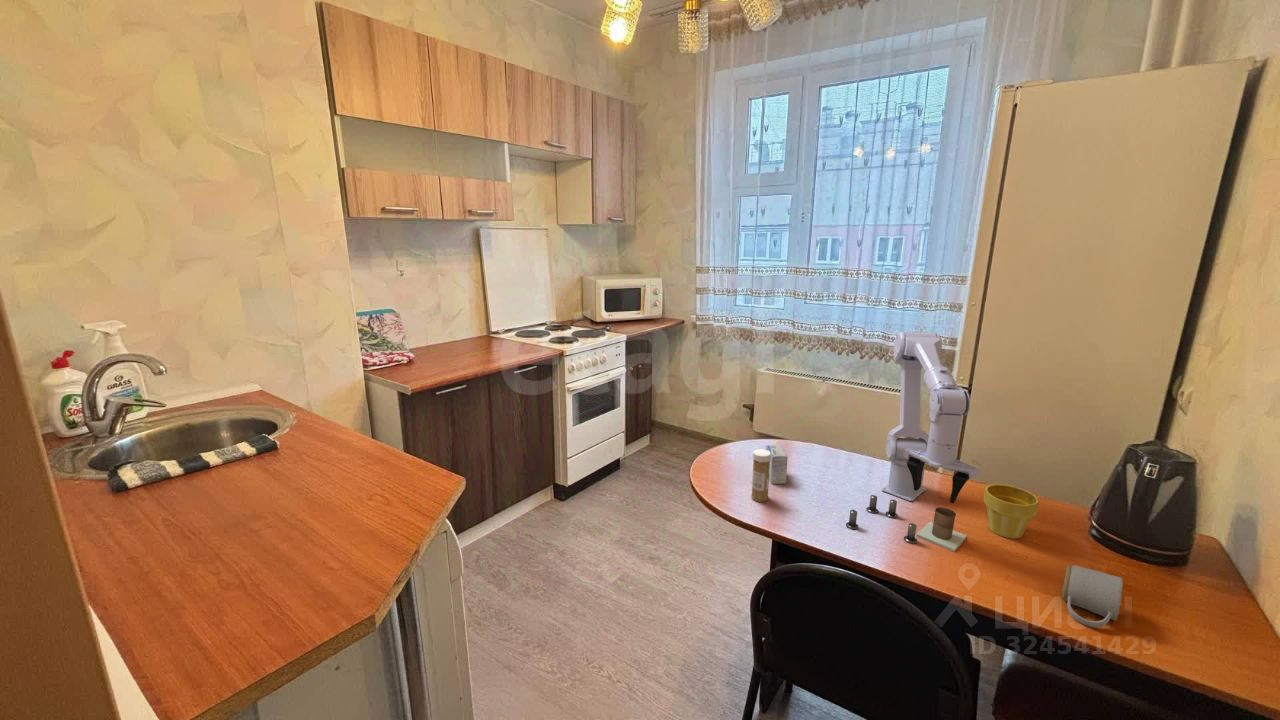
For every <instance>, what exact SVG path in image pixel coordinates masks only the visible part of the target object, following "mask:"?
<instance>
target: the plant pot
mask: <svg viewBox="0 0 1280 720" xmlns="http://www.w3.org/2000/svg"><path fill="white" fill-rule="evenodd" d="M983 503H984V505H986V513H987V524H988V525H987V527H988V528H989V530H990V531H991V532H993V533H994V534H996V535H998V536H1000V537H1003V538H1005V539H1006V538H1008V539H1014V540H1015V539H1020V538H1022V537H1023V535H1024V533H1025V531H1026V529H1027V528H1028V525H1029V524H1030V522H1031V519H1032V518H1034V517H1035V516H1036V515H1037V512H1038V509H1039V503H1040V501H1039V498H1038V497H1037V496H1036V495H1034V493H1032V492H1030V491H1028V490H1026V489H1024V488H1021V487H1019V486H1013V485H1009V484H1002V483H993V484H992V483H991V484H988V485H987V486H986V487H985V489H984V493H983Z"/></svg>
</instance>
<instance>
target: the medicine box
mask: <svg viewBox="0 0 1280 720" xmlns="http://www.w3.org/2000/svg"><path fill="white" fill-rule="evenodd" d="M765 450H767V451H769V452H770V453H771V460H770V468H769V483H770V484H771V485H774V484H775V485H776V484H777V485H784V484H785V485H786V484H787V474H788V458H789V457H788V455H787V453H786V452H785V450H784V448H783V447H782V445H781V444H768V445H766V447H765Z"/></svg>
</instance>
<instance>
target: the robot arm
mask: <svg viewBox="0 0 1280 720" xmlns="http://www.w3.org/2000/svg"><path fill="white" fill-rule="evenodd" d="M942 347H943V340H942V337H941V335H940V333H938V332H911V331H909V332H907V331H905V332H904V331H899V332H898V333H897V334H896V335H895V339H894V346H893V358H894V363H897V364H898V365H900V391H899V392H900V395H899V396H900V397H899V424H898V425H897V426H896V427H894V428H892V429H891V430H889V432H888V434H887V438H886V443H885V452H886V453H885V454H886V456H887V459H888V460H890V462H891V463H890V468H889V469H890V470H889V477H888V484H886V485H885V486H883V488H882V489H881V491H883V492H885V493H887V494H890V495H893V496H895V497H898V498H900V499H904V500H906V501H909V502H913V501H914V500H915V499H917V497H919V496H920V495H921V494H922V493H924V492H925V491H926V488H925V487H923V483H924V482H923V481H924V475H925V465H926V464H928V465H929V466H931V467H934V468H936V469H939V468H942V469H945V470H947V471H948V470H949V471H951V472H954V473H955V474H954V475H952V488H951V493H950V496H949V497H950V499H949V503H950V504H954V503H956V501H957V499H958V497H959V494H960V493H961V490H962V489H963V487H964V486H965V485H966V484H967V482H968V481H969V480H970V479H973V480H974V479H976V477H977V476H978V470H979V467H975V466H972V465H970V464H968V463H966V462H963V461H961V460H959V459H956V456H957V451H958V443H959V439H960V432H961V427H962V426H961V425H962V422H963V421H962V419H963V417H964V416H967V415H968V413H969V410H970V407H971V405H970V403H971V401H970V395H969V392H968V390H967V389H965V388H963V387H961V386H958V384H957V383H956V382H957V381H956V380H955V378H954V376H953V374H952V372H951V370H950V369H949V368H948V367H945V366H943V364H942V361H941V356H940V353H941V352H942ZM922 369H924V371H925V372H924V374H923V380H924V383H925V386H926V387H927V391H928V393H929V400H928V403H929V404H928V405H929V406H928V407H929V419H930V425H929V432H926V431H925V430H923V429H922V428H921V427H920V426H921V422H920V421H921V389H922V388H921V385H922V382H921V380H922V379H921V378H922Z"/></svg>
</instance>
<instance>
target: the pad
mask: <svg viewBox="0 0 1280 720" xmlns="http://www.w3.org/2000/svg"><path fill="white" fill-rule="evenodd" d="M933 522H934V521H933ZM933 522H932V521H929V522H928V523H926V525H924V526H923V527H922V528H921V529H920V530H919V531H918V532H917V533H916V537H917V538H920V539H922V540H924V541H927V542H929V543H932V544H934V545H936V546H939V547H941V548H944V549H946V550H948V551H951V552H954V553H955V551H957V550H958V549H959V547H961V545H962V544H963V543H964V541H965V540H966V539H967V538H968V537H967V536H968V535H966V534H963V533H962V532H958V531H957V530H954V529H953V532H952V538H951V539H949V540H943V539H940V538H937V537H935V536H934V535H933V534H932V528H933Z"/></svg>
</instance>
